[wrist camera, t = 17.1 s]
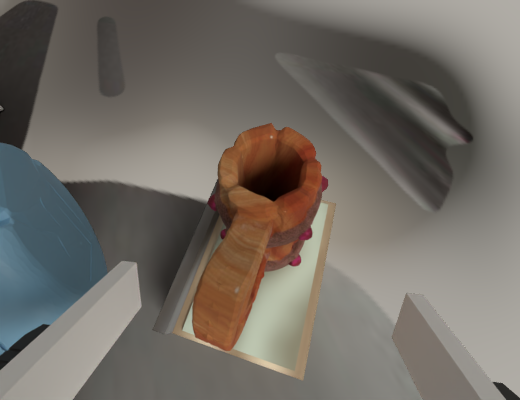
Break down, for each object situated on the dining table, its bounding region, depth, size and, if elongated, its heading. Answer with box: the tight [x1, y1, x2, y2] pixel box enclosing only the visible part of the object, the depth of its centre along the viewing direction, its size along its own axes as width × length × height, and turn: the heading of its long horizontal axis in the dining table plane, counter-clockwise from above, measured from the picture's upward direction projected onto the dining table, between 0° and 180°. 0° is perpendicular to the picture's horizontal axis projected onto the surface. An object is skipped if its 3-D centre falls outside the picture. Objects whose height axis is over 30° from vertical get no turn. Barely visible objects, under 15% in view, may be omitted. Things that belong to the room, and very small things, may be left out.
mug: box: [192, 123, 328, 351], centre depth 19 cm, size 15×8×15 cm, turn 160°
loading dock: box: [153, 179, 336, 380], centre depth 27 cm, size 14×18×6 cm
